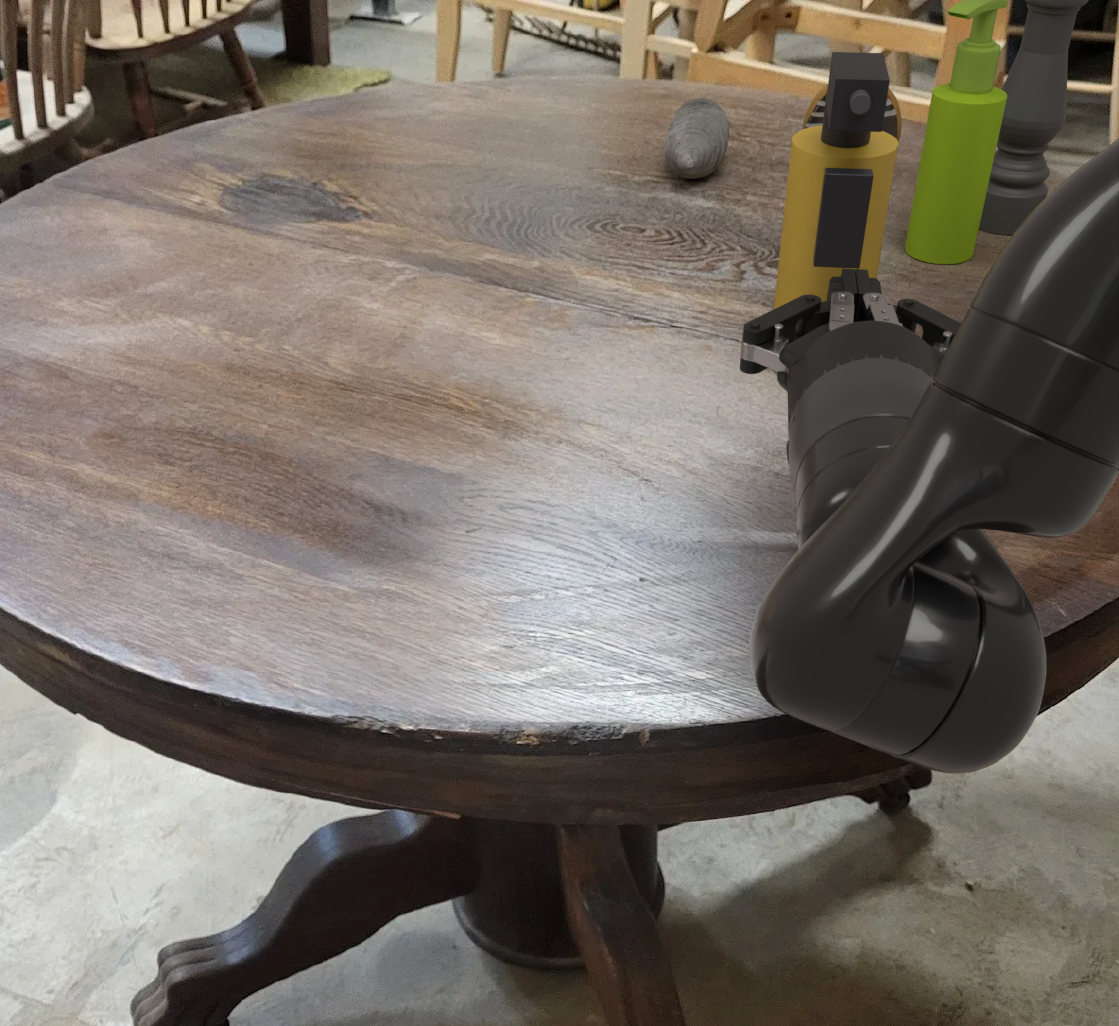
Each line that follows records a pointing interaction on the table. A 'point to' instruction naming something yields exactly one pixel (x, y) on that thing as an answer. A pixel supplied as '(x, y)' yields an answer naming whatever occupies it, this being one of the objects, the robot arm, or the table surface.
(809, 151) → the spray bottle
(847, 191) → the trigger
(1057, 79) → the candle holder
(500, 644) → the table surface
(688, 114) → the seashell
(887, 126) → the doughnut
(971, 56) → the soap dispenser
